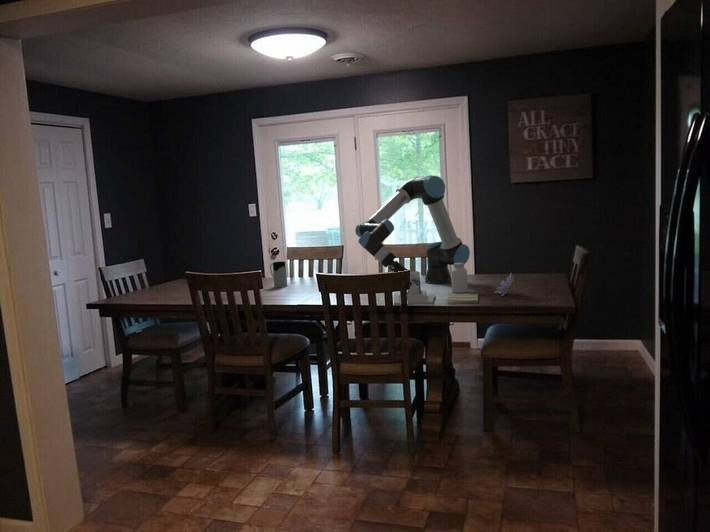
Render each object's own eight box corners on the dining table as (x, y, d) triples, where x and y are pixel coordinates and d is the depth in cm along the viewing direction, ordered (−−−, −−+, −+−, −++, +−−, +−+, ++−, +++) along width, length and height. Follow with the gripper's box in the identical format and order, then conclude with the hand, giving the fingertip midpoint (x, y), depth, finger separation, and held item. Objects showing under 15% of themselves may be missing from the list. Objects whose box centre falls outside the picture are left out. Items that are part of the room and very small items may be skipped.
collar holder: (395, 297, 302) (395, 289, 301) (435, 296, 298) (434, 288, 297) (390, 305, 282) (389, 297, 282) (432, 304, 278) (432, 296, 278)
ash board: (449, 296, 295) (449, 294, 295) (477, 295, 293) (477, 293, 292) (447, 303, 278) (447, 301, 278) (478, 303, 275) (477, 300, 275)
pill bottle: (467, 293, 301) (466, 264, 299) (451, 293, 303) (450, 264, 301) (467, 290, 309) (466, 261, 307) (452, 290, 311) (451, 262, 309)
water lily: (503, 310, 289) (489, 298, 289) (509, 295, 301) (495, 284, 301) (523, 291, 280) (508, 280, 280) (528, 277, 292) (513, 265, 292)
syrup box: (411, 302, 286) (409, 273, 284) (405, 300, 292) (403, 271, 290) (421, 301, 289) (420, 271, 287) (415, 299, 294) (414, 270, 292)
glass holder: (278, 288, 353) (276, 263, 351) (265, 286, 364) (263, 262, 362) (291, 286, 359) (289, 261, 357) (277, 284, 369) (275, 260, 367)
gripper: (383, 259, 302) (415, 287, 301) (376, 266, 279) (410, 297, 278) (393, 248, 301) (425, 277, 300) (386, 254, 277) (420, 285, 276)
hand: (417, 286), depth 289 cm, fingers open, 12 cm apart
